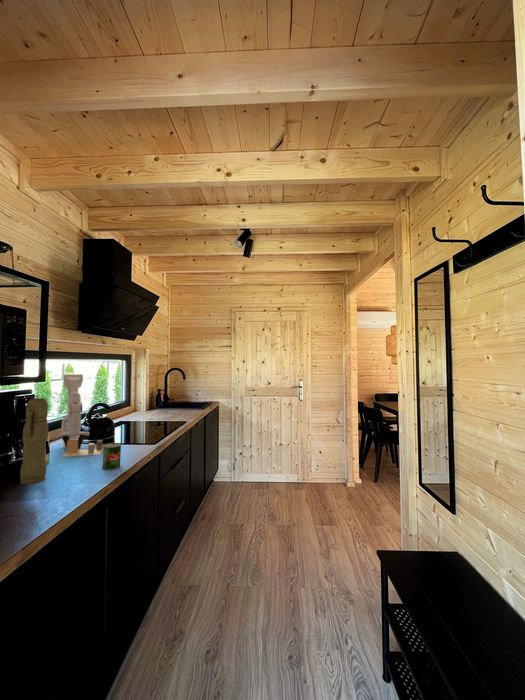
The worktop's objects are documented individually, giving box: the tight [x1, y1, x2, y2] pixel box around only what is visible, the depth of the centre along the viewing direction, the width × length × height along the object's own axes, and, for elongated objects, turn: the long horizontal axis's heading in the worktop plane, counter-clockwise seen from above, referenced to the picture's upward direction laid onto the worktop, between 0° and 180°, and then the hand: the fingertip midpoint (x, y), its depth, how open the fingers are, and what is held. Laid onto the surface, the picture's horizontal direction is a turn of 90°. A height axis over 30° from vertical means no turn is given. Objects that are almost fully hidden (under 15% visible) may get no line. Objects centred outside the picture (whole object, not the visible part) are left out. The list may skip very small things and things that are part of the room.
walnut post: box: [95, 439, 104, 451], centre depth 181 cm, size 3×3×5 cm
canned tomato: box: [102, 442, 122, 471], centre depth 153 cm, size 8×8×11 cm
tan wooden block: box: [66, 439, 81, 453], centre depth 175 cm, size 5×5×7 cm
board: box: [62, 448, 103, 458], centre depth 174 cm, size 12×18×1 cm, turn 108°
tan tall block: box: [19, 397, 49, 486], centre depth 134 cm, size 9×12×35 cm
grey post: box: [87, 442, 95, 454], centre depth 174 cm, size 3×3×5 cm
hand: (73, 449), depth 175 cm, fingers closed on tan wooden block, 5 cm apart
